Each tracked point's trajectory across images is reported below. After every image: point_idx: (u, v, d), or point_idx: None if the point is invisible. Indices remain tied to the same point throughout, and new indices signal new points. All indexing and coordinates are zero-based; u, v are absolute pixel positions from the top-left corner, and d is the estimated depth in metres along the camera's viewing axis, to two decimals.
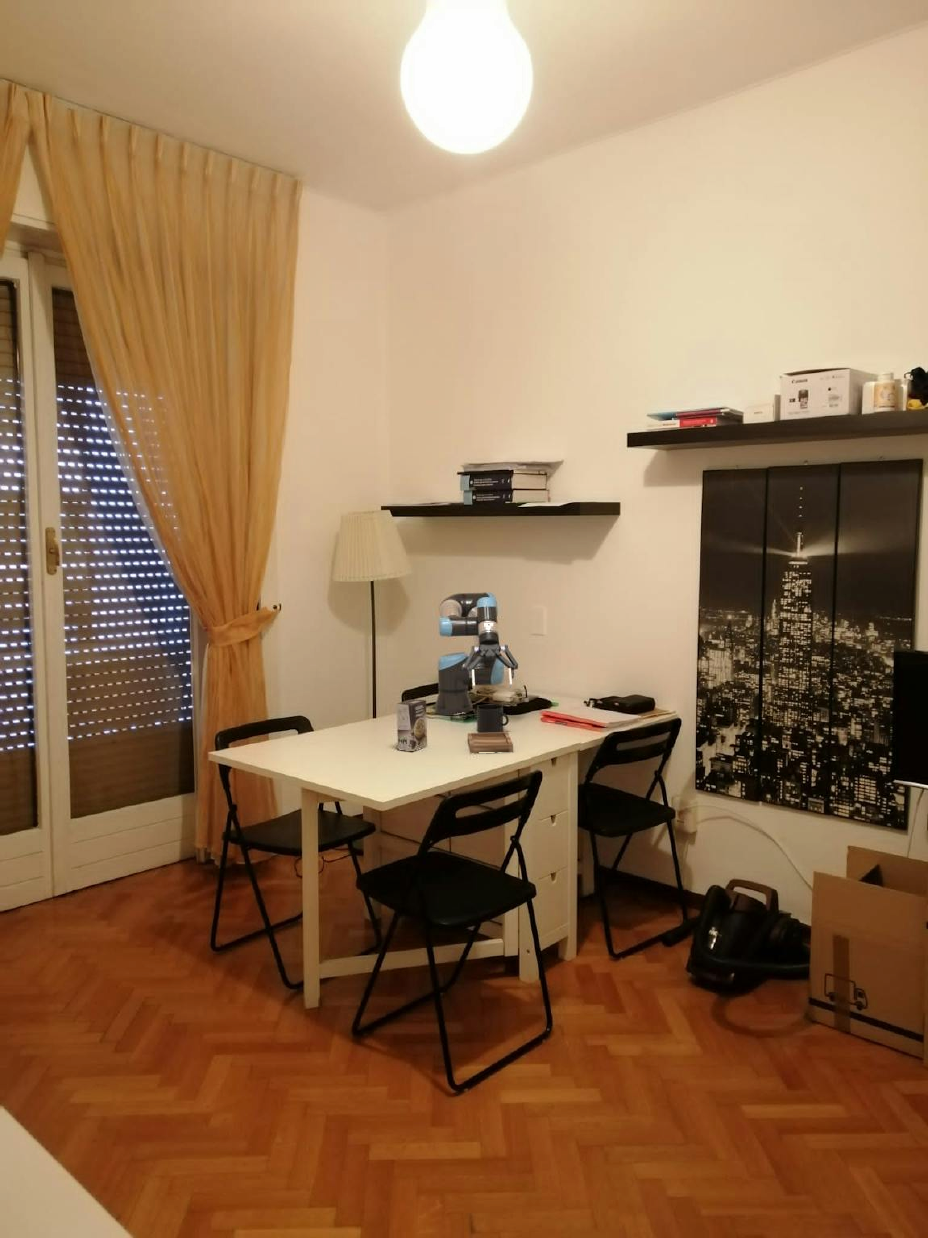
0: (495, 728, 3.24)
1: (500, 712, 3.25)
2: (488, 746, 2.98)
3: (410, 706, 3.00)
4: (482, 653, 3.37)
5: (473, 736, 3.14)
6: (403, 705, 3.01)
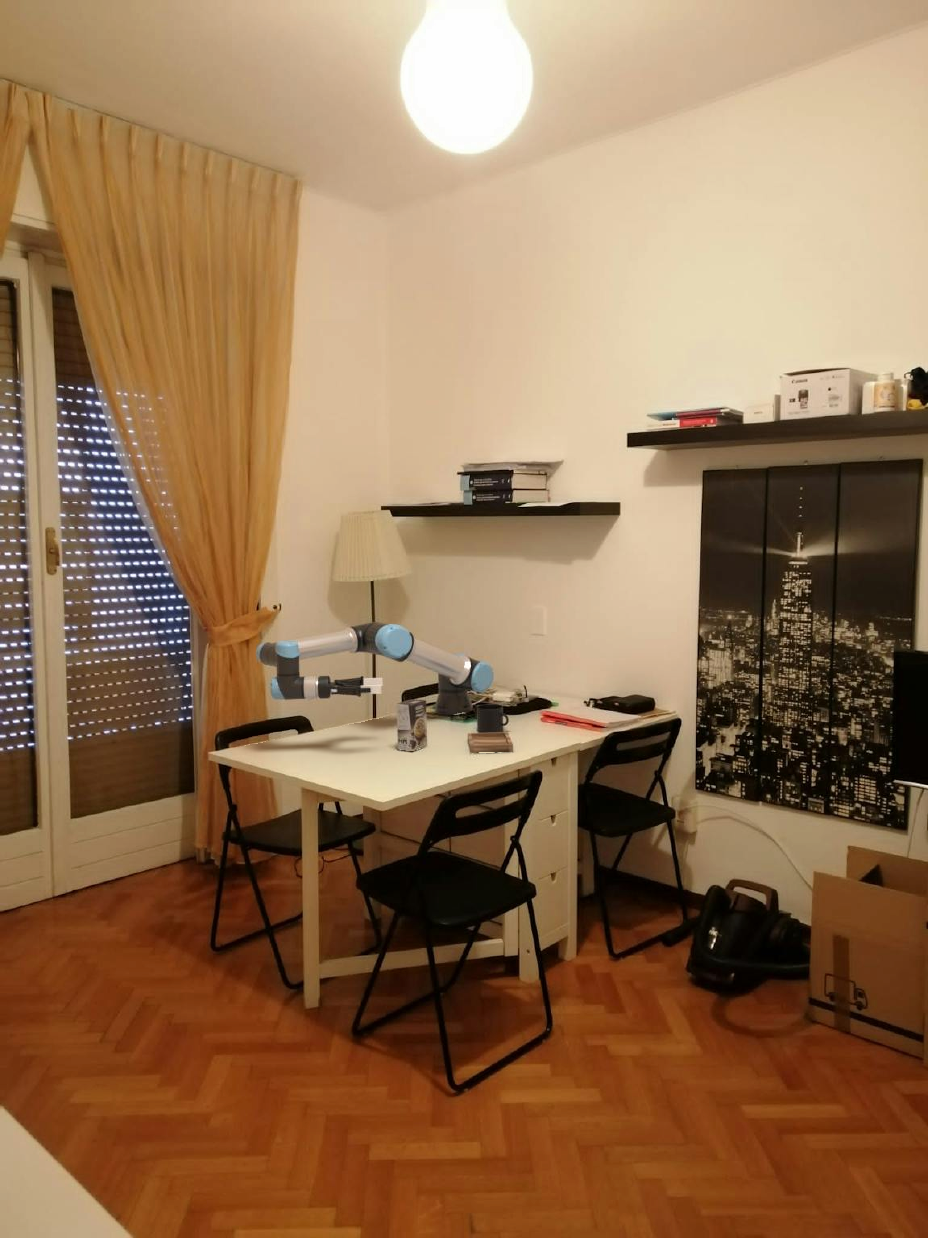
0: (495, 728, 3.24)
1: (500, 712, 3.25)
2: (488, 746, 2.98)
3: (410, 706, 3.00)
4: None
5: (473, 736, 3.14)
6: (403, 705, 3.01)
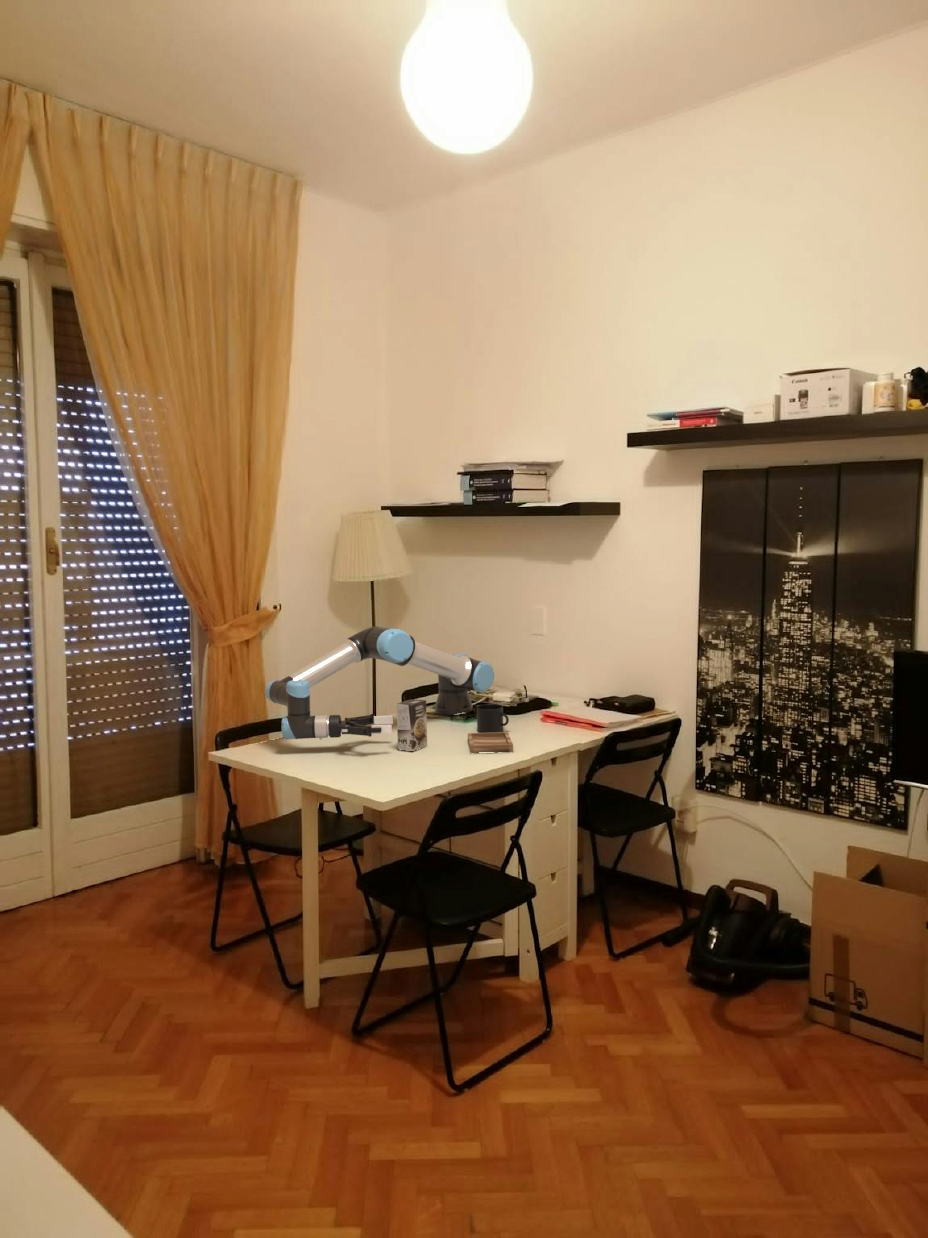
0: (495, 728, 3.24)
1: (500, 712, 3.25)
2: (488, 746, 2.98)
3: (410, 706, 3.00)
4: None
5: (473, 736, 3.14)
6: (403, 705, 3.01)
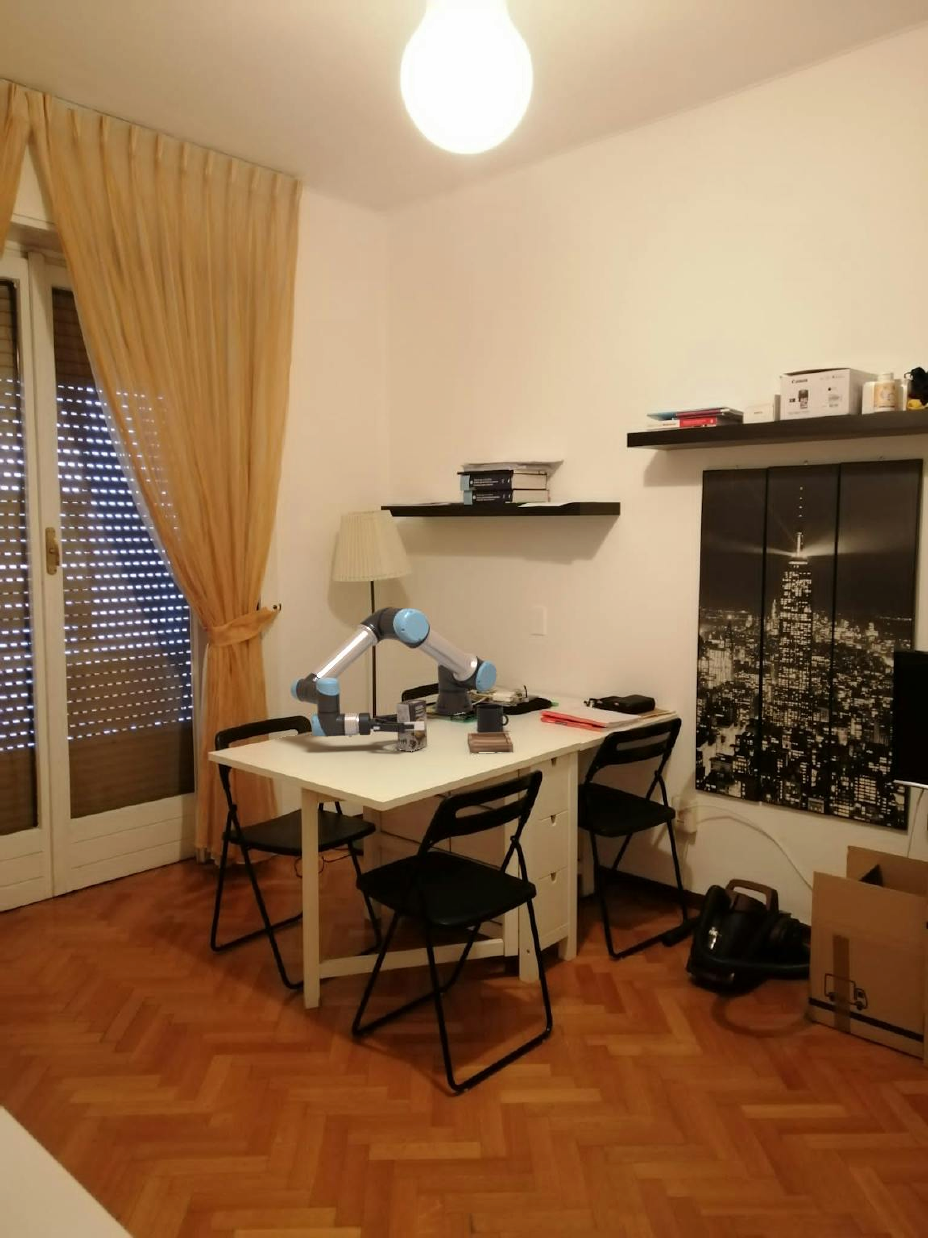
0: (495, 728, 3.24)
1: (500, 712, 3.25)
2: (488, 746, 2.98)
3: (410, 706, 3.00)
4: None
5: (473, 736, 3.14)
6: (403, 705, 3.01)
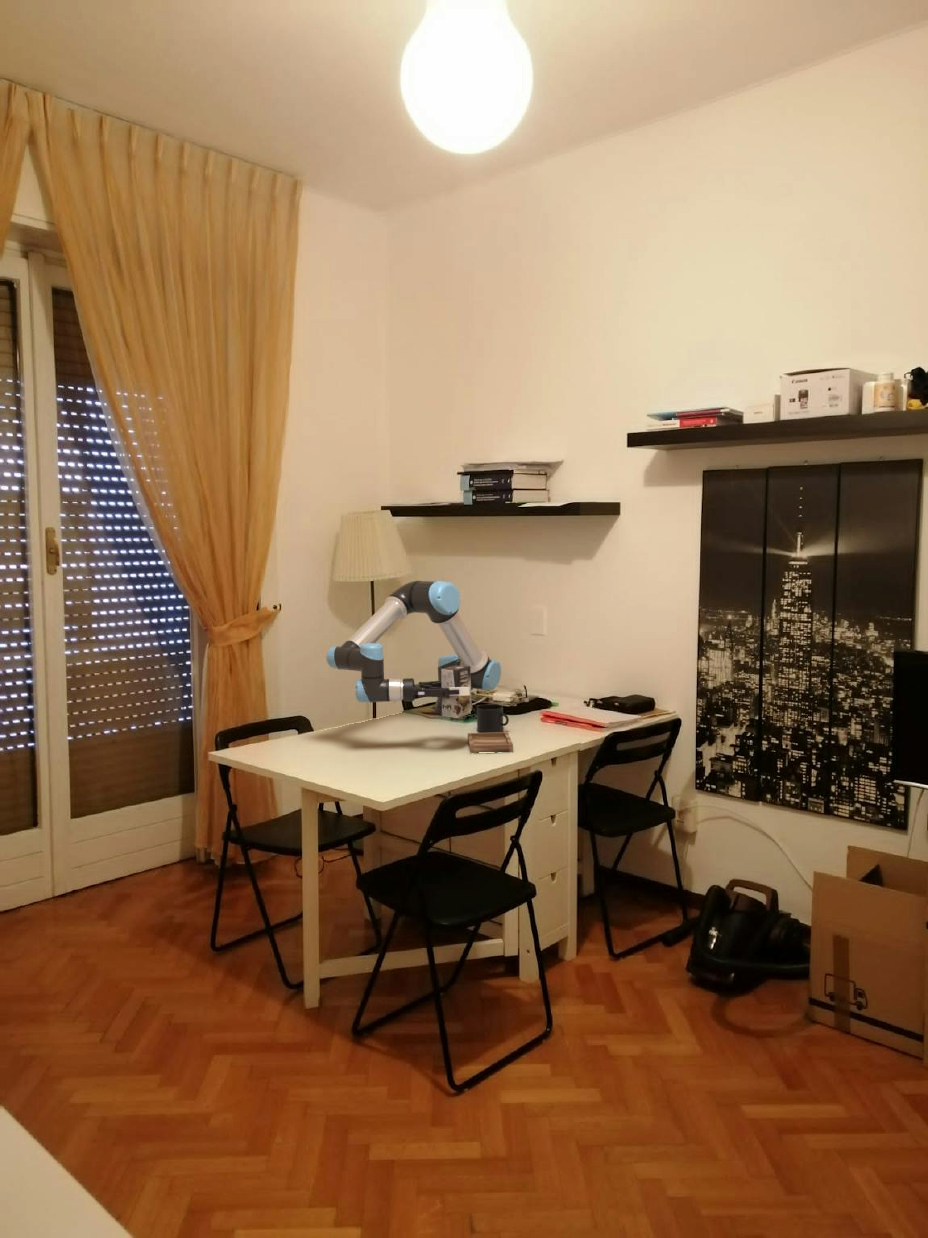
0: (495, 728, 3.24)
1: (500, 712, 3.25)
2: (488, 746, 2.98)
3: (455, 671, 2.97)
4: None
5: (473, 736, 3.14)
6: (448, 670, 2.98)
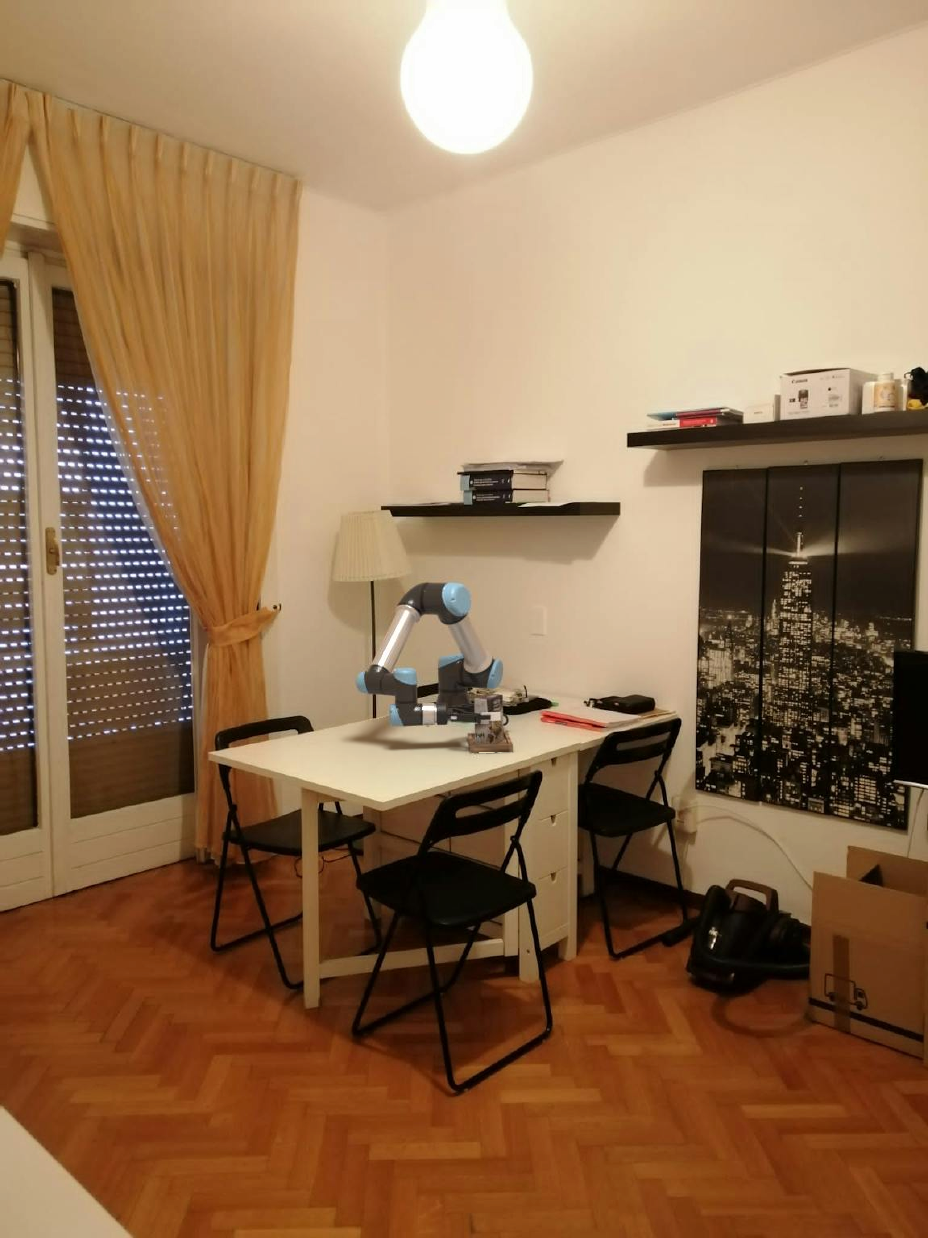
0: None
1: None
2: (488, 746, 2.98)
3: (488, 700, 3.00)
4: None
5: (473, 736, 3.14)
6: (481, 699, 3.01)
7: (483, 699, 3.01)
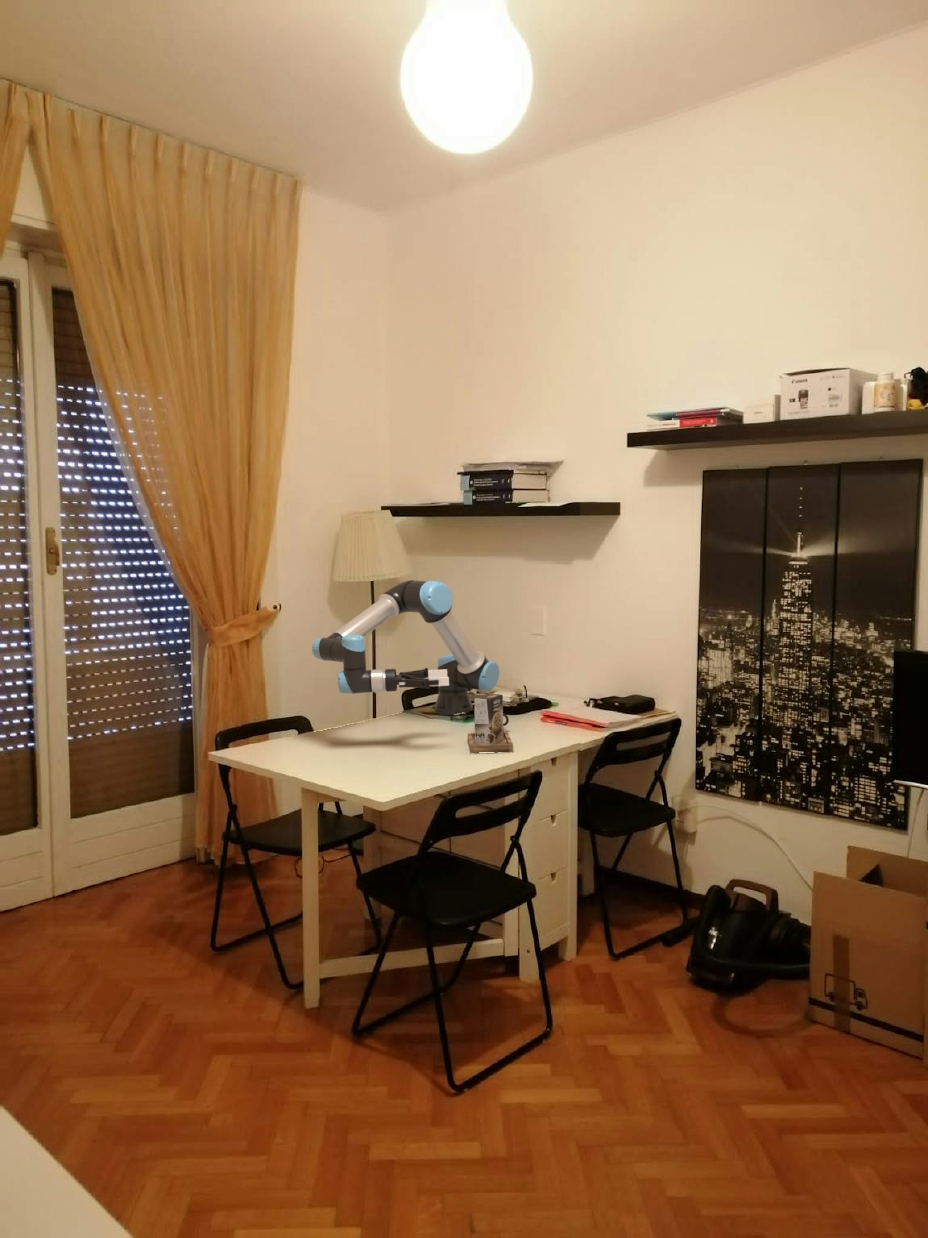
0: None
1: None
2: (488, 746, 2.98)
3: (488, 700, 3.00)
4: None
5: (473, 736, 3.14)
6: (481, 699, 3.01)
7: (483, 699, 3.01)
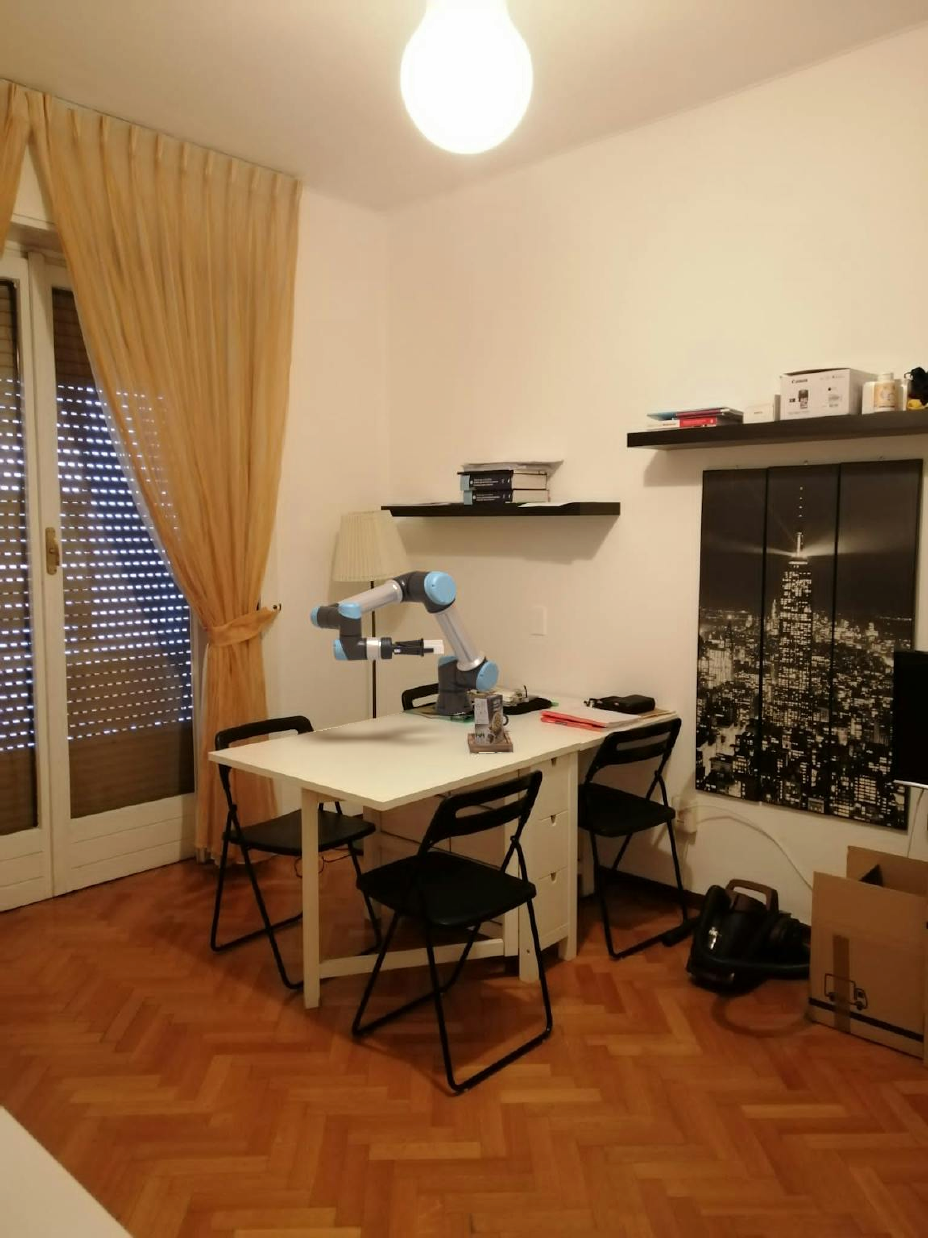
0: None
1: None
2: (488, 746, 2.98)
3: (488, 700, 3.00)
4: None
5: (473, 736, 3.14)
6: (481, 699, 3.01)
7: (483, 699, 3.01)
